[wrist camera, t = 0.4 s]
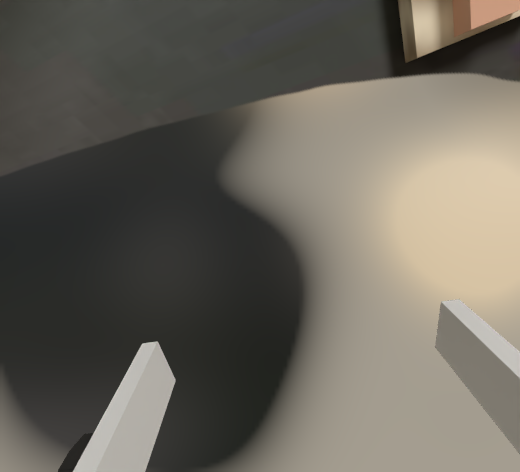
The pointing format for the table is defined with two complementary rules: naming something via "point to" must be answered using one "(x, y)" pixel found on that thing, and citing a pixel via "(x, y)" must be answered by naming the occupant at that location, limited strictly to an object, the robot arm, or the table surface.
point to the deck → (433, 26)
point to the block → (480, 13)
